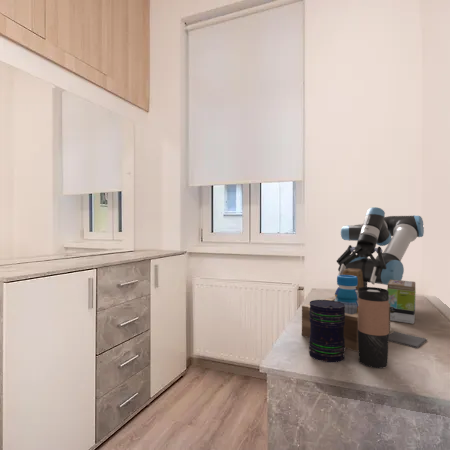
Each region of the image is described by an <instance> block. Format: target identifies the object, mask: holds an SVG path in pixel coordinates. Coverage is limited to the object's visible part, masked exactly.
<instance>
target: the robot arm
mask: <svg viewBox="0 0 450 450" xmlns="http://www.w3.org/2000/svg"><path fill="white" fill-rule="evenodd" d="M385 214H386V212H385V210H384V209H382V208H380V207H370V208H368V209H367V211H366V213H365V216H364V220H363V223H358V224H354V225H343V226H342V227H341V229H340V235H341V236H340V237H341V239H343V240H344V241H352V242H353V241H355V242H356V245H355V246H353V245H351V244H350V245H348V247H347V249H346V250H345V251H344V252H343V253H342V254H341V255H340V256H339V257H338V258H337V260H336V263H337V264H338V265H339V266H338V269H337V270H338V271H337V272H338V274H337V276H338V275H343V271H344V270H345V269H348V268H357V269H361V270H362V274H363V287H368V283H371V284H372V285H375V284H376V285H377V284H378V285H385V286H388V283H389V281H390V280H402V279H403V277H404V273H405V272H404V271H405V269H404V268H405V267H404V264H403V262H402V260H403V257H404V255H405V253H406V251H407V250H408V248H409V245H410V244H411V243H412V242H415V240H416V239H417V238H422V237H423V236H424V234H425V230H424V229H425V227H423V225H424V220H423V217H422V216H421V215H390V216H389V215H388V216H385ZM377 246H378V247H377ZM384 246H386V247H385V248H384V249H382V247H384ZM374 253H376V254H377V256H376V257H375V256H374V255H373V254H374ZM369 257H370V258H369ZM402 281H403V280H402Z"/></svg>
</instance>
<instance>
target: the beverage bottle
mask: <svg viewBox="0 0 450 450" xmlns="http://www.w3.org/2000/svg"><path fill="white" fill-rule="evenodd" d="M336 284H337V286H338V287H337V289H336V290H335V293H334V296H335V297H336V299H335V301H337V302H341V303H343V304H344V305H345V308H344V310H345V313H347V314H352V315H353V314H355V313H358V296H359V292H358V291H357V289H356V287H357V285H358V278H357V277H356V276H352V275H338V274H337V277H336Z"/></svg>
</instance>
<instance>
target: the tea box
mask: <svg viewBox="0 0 450 450" xmlns="http://www.w3.org/2000/svg"><path fill="white" fill-rule="evenodd" d="M386 290H388V292H389V303H390V321H392V322H398V323H399V322H400V323H406V324H413V325H414V323H415V320H416V319H415V318H416V316H415V315H416V293H417V292H416V281H410V280H409V281H408V280H390V281H389V283H388V285H387V288H386Z"/></svg>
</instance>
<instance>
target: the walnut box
mask: <svg viewBox="0 0 450 450" xmlns="http://www.w3.org/2000/svg"><path fill="white" fill-rule="evenodd" d="M335 299H336V297H335V295H334V296H332V297H328V298H325V299H323V300H332V301H335ZM309 311H310V303H307V304H304V305H302V306H301V336H304V337H305V338H306V337H307V338H309V336H310V319H309V318H310V315H309ZM390 332H391V320H390V303H389V333H390ZM344 339H345V349H347V350H351V351H355V352H359V350H358V313H355V314H353V315H352V314H347V313H345V325H344Z"/></svg>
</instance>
